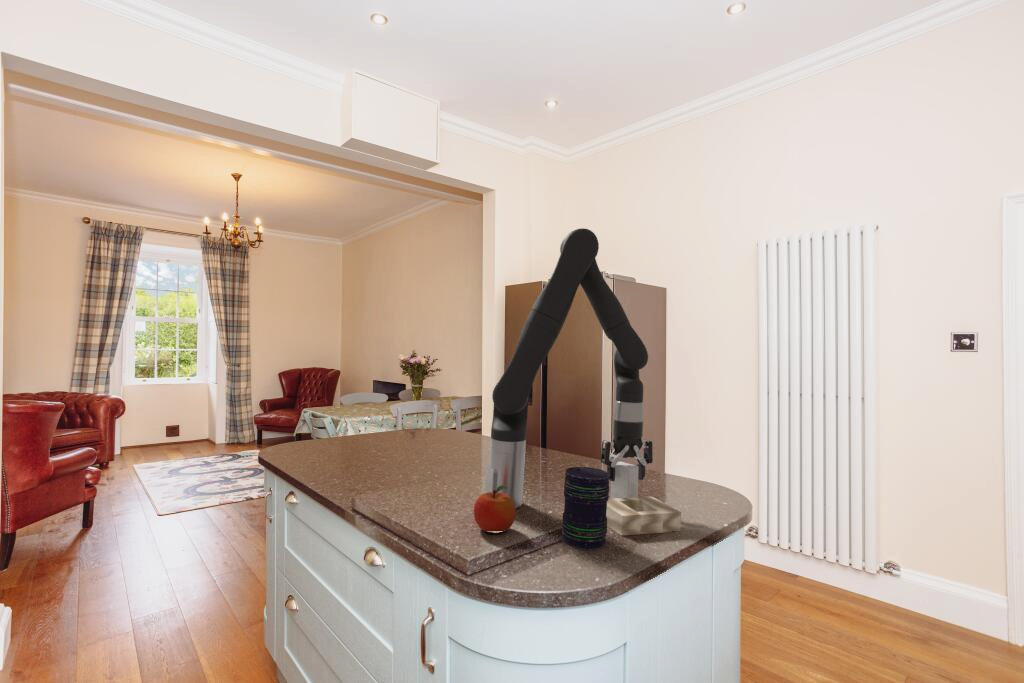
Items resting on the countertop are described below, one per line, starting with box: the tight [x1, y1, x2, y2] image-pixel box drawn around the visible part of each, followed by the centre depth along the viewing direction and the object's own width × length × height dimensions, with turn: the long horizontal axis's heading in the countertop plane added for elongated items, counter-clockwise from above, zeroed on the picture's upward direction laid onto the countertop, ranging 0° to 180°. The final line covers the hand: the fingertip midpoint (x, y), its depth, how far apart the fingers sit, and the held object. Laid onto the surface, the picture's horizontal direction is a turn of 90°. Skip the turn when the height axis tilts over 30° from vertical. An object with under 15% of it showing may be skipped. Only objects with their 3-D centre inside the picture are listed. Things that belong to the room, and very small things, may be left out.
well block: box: [606, 496, 682, 536], centre depth 123 cm, size 16×12×4 cm
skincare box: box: [610, 461, 639, 499], centre depth 133 cm, size 6×4×12 cm
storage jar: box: [561, 466, 610, 551], centre depth 111 cm, size 10×10×15 cm
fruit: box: [473, 485, 517, 532], centre depth 114 cm, size 10×10×10 cm
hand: (625, 480), depth 133 cm, fingers open, 8 cm apart
